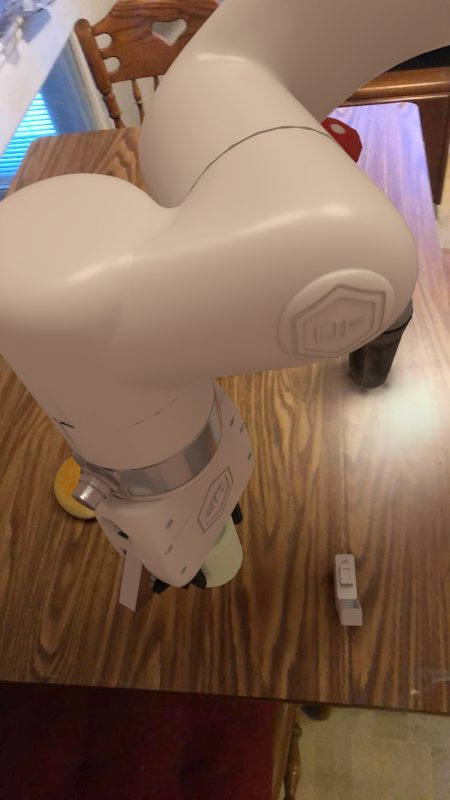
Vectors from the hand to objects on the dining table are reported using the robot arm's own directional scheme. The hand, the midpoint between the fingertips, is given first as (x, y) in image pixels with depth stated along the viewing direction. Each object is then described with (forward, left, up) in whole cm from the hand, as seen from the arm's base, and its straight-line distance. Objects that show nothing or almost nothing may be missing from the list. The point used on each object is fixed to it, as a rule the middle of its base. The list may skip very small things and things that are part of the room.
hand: (206, 544), depth 43 cm
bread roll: (+3, -20, -16) cm, 26 cm away
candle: (0, 0, -3) cm, 3 cm away
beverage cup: (-31, -10, -16) cm, 36 cm away
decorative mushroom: (-47, -38, -16) cm, 62 cm away
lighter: (-8, +8, -16) cm, 20 cm away
